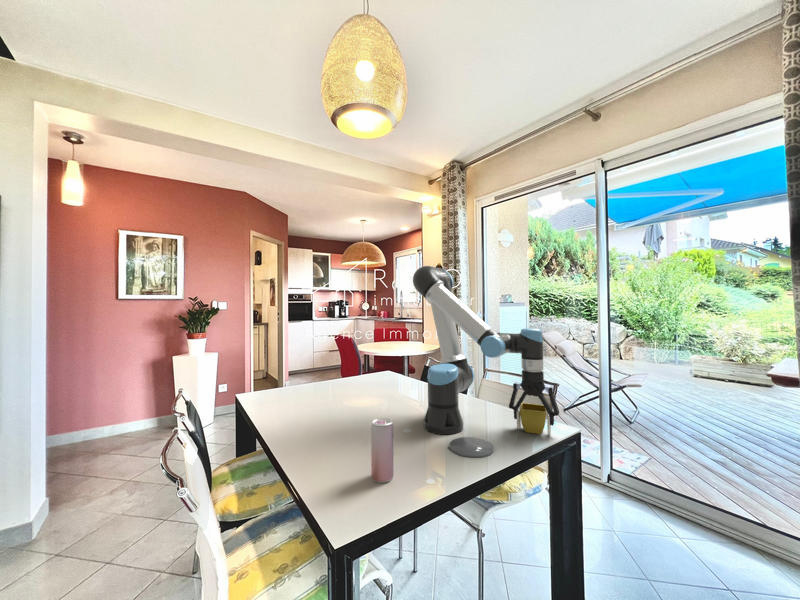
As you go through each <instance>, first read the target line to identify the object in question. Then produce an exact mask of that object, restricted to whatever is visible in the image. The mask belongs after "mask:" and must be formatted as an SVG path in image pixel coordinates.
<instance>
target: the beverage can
mask: <svg viewBox="0 0 800 600" xmlns="http://www.w3.org/2000/svg"><path fill="white" fill-rule="evenodd" d="M370 430H371V431H370V432H371V433H370V437H371V439H370V443H371V446H370V447H371V449H370V450H371V453H370V457H371V459H370V461H371V462H370V463H371V465H370V466H371V468H370V469H371V471H370V472H371V479H372V480H373V481H374V482H375V483H379V484H385V483H389V482H390V481H392V479H393V478H394V475H395V474H394V472H395V471H394V469H395V468H394V424H393V420H392V419H389V418H386V417H385V418H375V419H372V421H371V425H370Z"/></svg>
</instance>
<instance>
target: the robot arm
mask: <svg viewBox="0 0 800 600" xmlns="http://www.w3.org/2000/svg"><path fill="white" fill-rule="evenodd" d="M412 283H413V286H414V289H415V290H416V291H417V292H418V293H419V294H420V295H421V296H422V297H423V298H424V299H425V300H426V301H427V303H429V304H430V306H431V312H432V315H433V316H432V317H433V320H434V321H433V322H434V325H435V330H436V334H437V340H438V343H439V349H440V354H441V359H440V361H439V364H438V363H437V364H434V365H432V366H430V367H429V368H428V370H427V409H426V413H425V415H424V419H423V428H424V429H425V430H426V431H428V432H430V433H432V434H433V433H434V434H437V435H438V434H439V435H452V434H458V433H460V432H463V430H464V421H463V418H462V414H461V411H460V408H459V394H460V393H462V392H465V391H466V390H468V389H469V388H470V387H471V386H472V384H473V383H474V380H475V373H474V369H473V367H472V366H471V365H470V364H469V362H468V359H467V356H465V355H463V352H462V349H461V344H460V338H459V335H458V329H457V326H458V327H459V328H460V329H462V330H463V332H465V334H467V335H468V336H469V338H471V339H472V340H473V341H474V342H475V343H476V344H477V345H478V346H479V347H480V350H481V352H482V354H483V355H484V356H486V357H487V358H490V359H492V358H499V357H501V356H503V355H505V354H509V353H510V354H520V356H521V359H520V360H521V369H522V370H521V382H514V383H513V384H512V389H513V390H512V392H511V396H510V401H509V404H508V408H509V409H512V410H513V418H514V420H516V429H517V430H520V429H521V428H522V427H521V426H522V422H521V415H520V407H521V403H524V400H525V398H526V397H527V396H531V397H532V396H533V397H536V398H538V399H539V400H540V401H541V403H542V405H544V407H545V409H546V413H547V415H546V416H547V417H546V420H547V421H546V424H547V435H548V436H551V434H552V427H553V426H554V424H555V416H556V417H557V416H559V415H560V409H559V407H558V403H557V400H556V397H555V395H554V386H552V385H551V386H548V385H545V382H544V381H545V380H544V378H545V375H544V340H543V331H542V330H541V329H540V328H529V327H528V328H526V327H525V328H521V330H520V333H508V332H506V333H505V332H496V331H495V330H494V329H493V328H492V327H491V326H490V325H488V324H487V323H486V322H485V321H484V320H483V319H481V317H479V316H478V315H477V314H476V313H475V312H474V311H473V310H471V309H470V308H469V307H468V306H467V305H466V304H464V303H463V302H462V301H461V300H460V299H459V297H457V296H456V295H455V294H454V293H453V290H452V289H453V287H454V279H453V276H452V275H451V273H450V272H448V270H445V269H444V268H440V267H435V266H431V265H424V266H421V267H419V268H418V269H416V270H415V272H414V273H413V276H412ZM520 388H521V389H522V390H523V393H522V394H521V396H520V397H519V400H518V401H517V402H516V398H517V394H518V391H519V389H520ZM545 390H546V393H547V394H548V396H549V397H548V398H549V400H550V403H549V402H548V400H547V398H546V397H545V394H544V393H543V392H544V391H545ZM515 402H516V404H515ZM550 404H551V405H550ZM551 406H552V407H551Z"/></svg>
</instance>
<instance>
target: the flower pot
mask: <svg viewBox="0 0 800 600" xmlns="http://www.w3.org/2000/svg"><path fill="white" fill-rule="evenodd" d="M519 410H520V415H521V426H522V428H523V430H524V432H525V433H530V434H535V435H541V434H542V433H543V431H544V429H545V424H546V420H547V417H546V416H547V410H546V409H545V407H544V405H543V404H536V403H528V402H522V403H521V405H520V407H519Z"/></svg>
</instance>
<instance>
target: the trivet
mask: <svg viewBox="0 0 800 600" xmlns="http://www.w3.org/2000/svg"><path fill="white" fill-rule="evenodd" d="M449 449H450V451H451V452H453V453H455V454H456V455H459V456H462V457H465V458H474V459H475V458H480V459H481V458H485V457H486V458H487V457H489V456H491V455H492V454H493V453H494V449H495V448H494V445H493V444H492V442H490V441H488V440H486V439H483V438H480V437H474V436H472V437H471V436H463V437H461V436H460V437H457V438H456V437H455V438H454V439H452V440H451V441H450V442H449Z"/></svg>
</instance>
